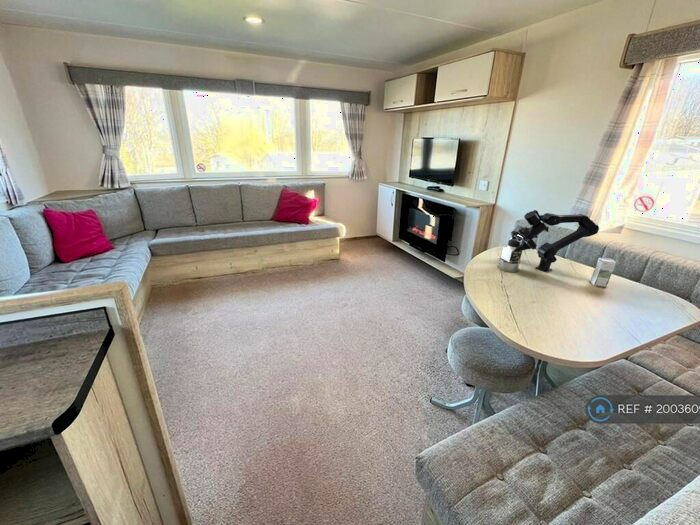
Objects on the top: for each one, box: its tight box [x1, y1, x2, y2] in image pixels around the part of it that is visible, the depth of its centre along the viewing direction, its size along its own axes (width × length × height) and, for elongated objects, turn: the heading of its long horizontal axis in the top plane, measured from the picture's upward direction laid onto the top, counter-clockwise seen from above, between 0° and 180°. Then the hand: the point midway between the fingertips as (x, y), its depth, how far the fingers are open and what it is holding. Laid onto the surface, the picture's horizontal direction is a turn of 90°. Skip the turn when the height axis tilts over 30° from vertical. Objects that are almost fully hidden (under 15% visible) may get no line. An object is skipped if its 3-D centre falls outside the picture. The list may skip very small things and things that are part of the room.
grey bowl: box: [497, 257, 521, 273], centre depth 181 cm, size 10×10×5 cm
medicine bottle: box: [500, 238, 523, 262], centre depth 177 cm, size 7×7×12 cm
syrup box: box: [589, 257, 617, 288], centre depth 163 cm, size 6×6×14 cm
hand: (510, 249), depth 177 cm, fingers closed on medicine bottle, 8 cm apart
